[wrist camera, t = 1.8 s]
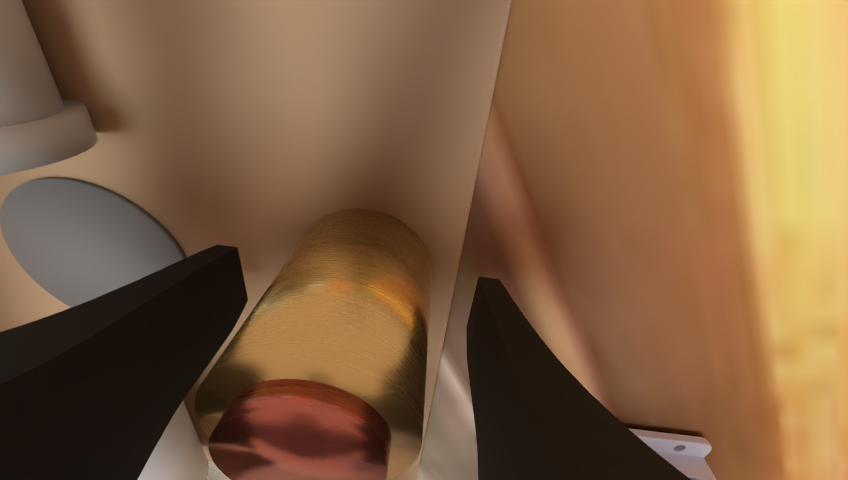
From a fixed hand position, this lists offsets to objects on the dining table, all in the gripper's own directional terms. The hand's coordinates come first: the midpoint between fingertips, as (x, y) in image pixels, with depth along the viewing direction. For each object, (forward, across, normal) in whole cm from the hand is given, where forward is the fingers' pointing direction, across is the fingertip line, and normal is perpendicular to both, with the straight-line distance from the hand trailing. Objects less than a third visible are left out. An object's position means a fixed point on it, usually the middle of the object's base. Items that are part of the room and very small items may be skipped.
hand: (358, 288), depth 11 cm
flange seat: (+1, +9, +1) cm, 9 cm away
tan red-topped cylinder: (+1, 0, 0) cm, 1 cm away
